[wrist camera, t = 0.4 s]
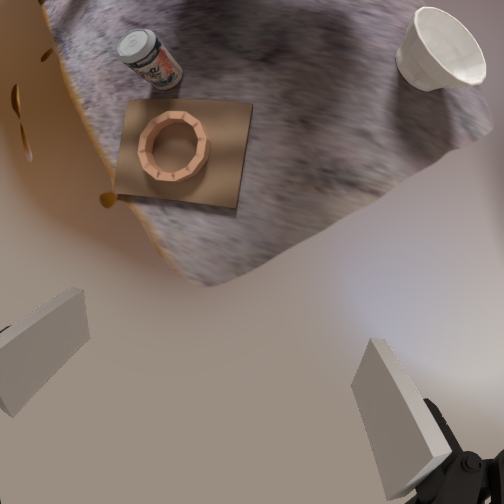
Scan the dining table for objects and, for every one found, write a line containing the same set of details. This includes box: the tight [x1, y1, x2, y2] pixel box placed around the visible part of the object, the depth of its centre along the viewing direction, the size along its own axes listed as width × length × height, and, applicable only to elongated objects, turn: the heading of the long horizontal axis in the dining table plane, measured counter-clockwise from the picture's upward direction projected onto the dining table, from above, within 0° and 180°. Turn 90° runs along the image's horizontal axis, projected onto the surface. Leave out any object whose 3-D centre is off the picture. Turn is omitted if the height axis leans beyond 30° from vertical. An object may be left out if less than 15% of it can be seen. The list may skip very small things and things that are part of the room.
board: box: [114, 99, 253, 209], centre depth 34 cm, size 14×18×1 cm
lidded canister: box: [117, 29, 183, 90], centre depth 26 cm, size 5×5×12 cm
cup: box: [396, 7, 486, 92], centre depth 23 cm, size 12×12×11 cm
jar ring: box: [137, 111, 211, 182], centre depth 32 cm, size 9×9×2 cm
